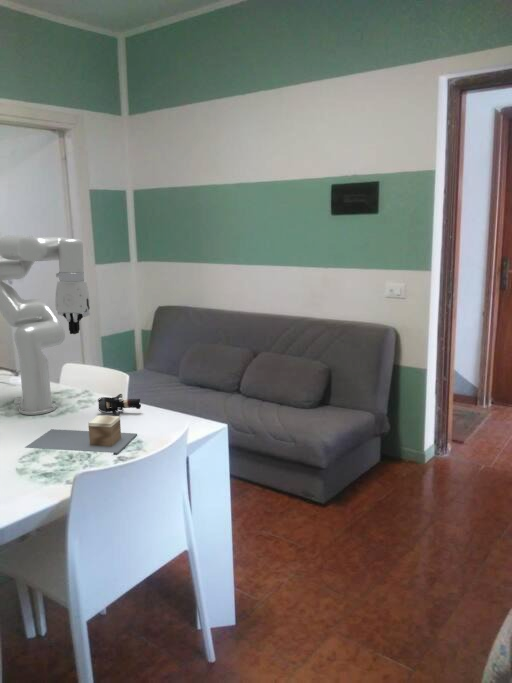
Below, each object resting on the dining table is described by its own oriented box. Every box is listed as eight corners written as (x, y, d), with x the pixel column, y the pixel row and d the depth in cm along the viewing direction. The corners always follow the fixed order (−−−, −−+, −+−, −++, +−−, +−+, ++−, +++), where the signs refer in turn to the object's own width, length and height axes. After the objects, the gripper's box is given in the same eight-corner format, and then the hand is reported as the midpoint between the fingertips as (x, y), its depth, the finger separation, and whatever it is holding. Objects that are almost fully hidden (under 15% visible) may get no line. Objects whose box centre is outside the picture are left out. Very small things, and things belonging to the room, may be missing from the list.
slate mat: (24, 449, 170) (24, 447, 170) (51, 430, 186) (51, 429, 186) (117, 454, 166) (117, 452, 166) (137, 435, 181) (137, 433, 181)
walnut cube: (110, 423, 169) (112, 446, 171) (119, 416, 176) (121, 438, 177) (88, 422, 170) (89, 445, 172) (98, 415, 177) (99, 436, 178)
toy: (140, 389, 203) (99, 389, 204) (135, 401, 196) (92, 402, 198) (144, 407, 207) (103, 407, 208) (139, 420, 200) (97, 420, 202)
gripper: (44, 277, 182) (47, 334, 186) (88, 279, 180) (90, 337, 184) (56, 275, 189) (59, 329, 193) (98, 277, 187) (100, 332, 191)
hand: (74, 333), depth 189 cm, fingers closed
